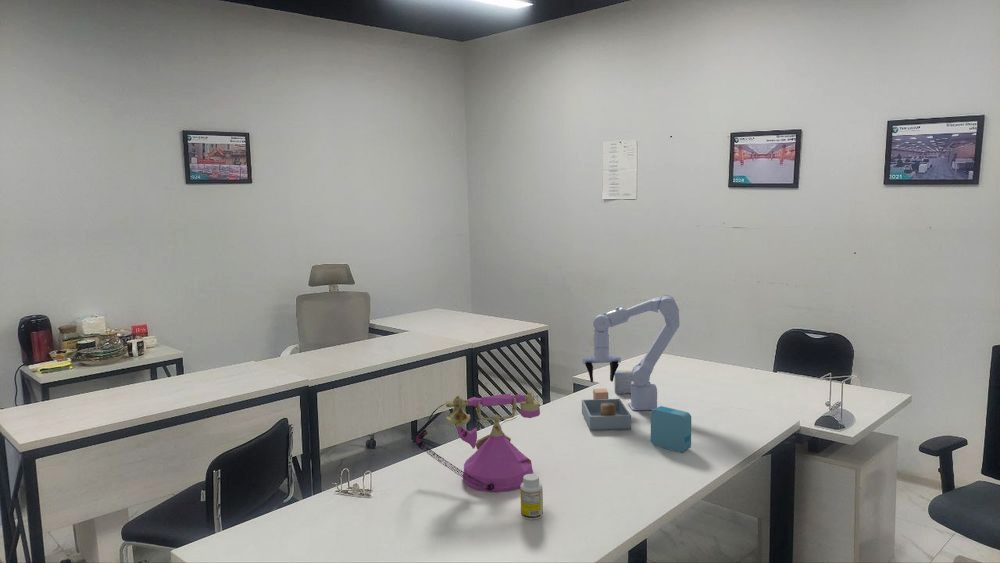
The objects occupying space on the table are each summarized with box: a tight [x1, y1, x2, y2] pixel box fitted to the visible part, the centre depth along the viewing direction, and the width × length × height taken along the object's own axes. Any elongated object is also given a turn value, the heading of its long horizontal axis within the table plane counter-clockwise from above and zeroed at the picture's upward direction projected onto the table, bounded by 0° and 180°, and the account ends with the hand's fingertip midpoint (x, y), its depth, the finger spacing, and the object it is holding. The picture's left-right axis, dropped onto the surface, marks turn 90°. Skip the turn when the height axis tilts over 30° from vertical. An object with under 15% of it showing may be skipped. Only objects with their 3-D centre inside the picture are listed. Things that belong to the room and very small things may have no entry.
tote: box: [581, 398, 632, 432], centre depth 229 cm, size 14×19×5 cm
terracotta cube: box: [592, 388, 609, 400], centre depth 250 cm, size 5×5×5 cm
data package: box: [650, 405, 692, 454], centre depth 203 cm, size 12×4×12 cm, turn 45°
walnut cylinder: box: [601, 403, 615, 416], centre depth 224 cm, size 5×5×7 cm
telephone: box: [415, 391, 541, 493], centre depth 181 cm, size 36×22×25 cm, turn 100°
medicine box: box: [613, 369, 633, 394], centre depth 263 cm, size 8×4×9 cm, turn 84°
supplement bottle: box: [519, 473, 544, 521], centre depth 161 cm, size 6×6×10 cm
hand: (601, 381), depth 245 cm, fingers open, 7 cm apart
